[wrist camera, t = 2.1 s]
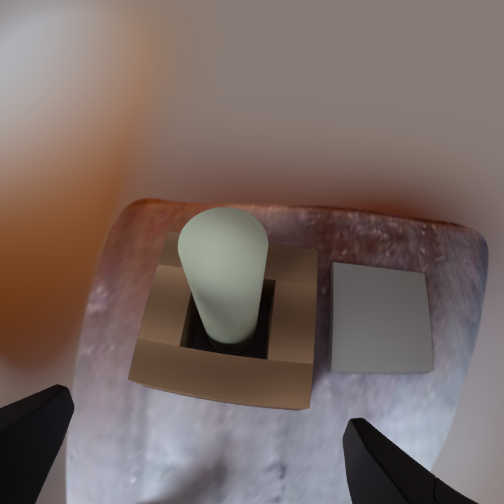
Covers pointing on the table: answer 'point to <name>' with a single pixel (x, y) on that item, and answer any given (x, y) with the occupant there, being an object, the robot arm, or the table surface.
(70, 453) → the table surface
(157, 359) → the walnut pocket block
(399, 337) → the slate tile
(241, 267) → the sage peg
